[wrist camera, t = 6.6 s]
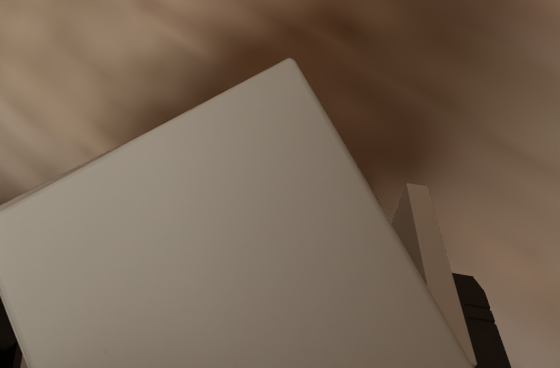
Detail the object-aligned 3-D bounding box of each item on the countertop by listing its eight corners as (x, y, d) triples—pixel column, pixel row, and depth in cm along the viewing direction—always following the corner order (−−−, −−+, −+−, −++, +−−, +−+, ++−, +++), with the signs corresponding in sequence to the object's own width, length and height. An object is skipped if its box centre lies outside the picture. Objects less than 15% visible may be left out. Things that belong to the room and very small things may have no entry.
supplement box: (367, 292, 18) (510, 416, 6) (236, 361, 18) (101, 635, 6) (299, 165, 19) (299, 43, 7) (175, 229, 19) (-49, 221, 7)
